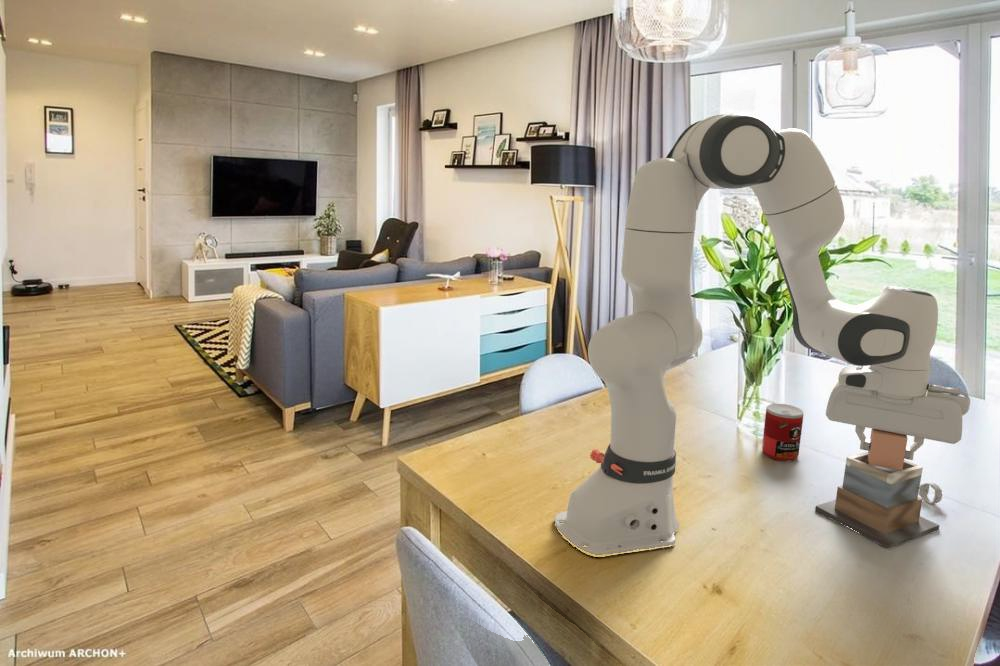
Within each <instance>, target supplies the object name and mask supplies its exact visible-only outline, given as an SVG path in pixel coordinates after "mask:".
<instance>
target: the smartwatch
mask: <svg viewBox="0 0 1000 666" xmlns="http://www.w3.org/2000/svg"><path fill="white" fill-rule="evenodd" d="M930 487H931V488H932V489H933V490H934V497H933V500H931V499H929V497H928V495H929V491H930V490H929V489H930ZM918 496H920V498H921V499H923V500H922V501H924V502H925V503H927V504H928V503H929V505H935V504H937V503H940V502H941V501H942V498H943V490H942V489H941V487H940V485H938V484H936V483H935V482H925V483H923V484H920V487H919V493H918Z"/></svg>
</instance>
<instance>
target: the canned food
mask: <svg viewBox="0 0 1000 666" xmlns="http://www.w3.org/2000/svg"><path fill="white" fill-rule="evenodd" d="M764 417H765V418H764V427H763V434H762V435H763V437H762V446H761V448H762V453H763V454H764V455H765V456H766V457H768V458H770V459H771V460H772V459H773V460H775V461H776V460H777V461H781V462H793V461H796V460H797V459H798V457H799V455H800V445H801V440H802V439H801V437H802V430H803V429H802V428H803V422H804V410H802V409H801V408H799V407H797V406H793V405H790V404H785V403H771V404H768V405H767V406H766V409H765V416H764Z"/></svg>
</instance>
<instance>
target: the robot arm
mask: <svg viewBox="0 0 1000 666" xmlns="http://www.w3.org/2000/svg"><path fill="white" fill-rule="evenodd" d="M631 186H632V187H631V191H630V195H629V199H628V205H627V211H626V216H625V224H624V226H625V228H624V234H623V235H624V236H623V248H622V258H621V276H622V278H623V279H624V281H625V282H626V284H628V285H629V288H630V291H631V294H632V302H633V311H632V314H630V315H626V316H621V317H618V318H615V319H613V320H611V321H609V322H608V323H606V324H605V325H603V326H602V327H601V328H599V329H597V330H596V331H595V332H594V333H593V335H592V336H591V337H590V340H589V343H588V347H587V355H588V356H587V357H588V361H589V364H590V367H591V369H592V370H593V372H594V373H595V375H596V376H597V377H598V378H600V380H602V381H603V382H604V384H605V387H606V390H607V395H608V397H609V403H610V442H609V444H608V446H607V448H606V451H605V453H603V452H601V451H600V450H599V449H596V448H594V449H593V450H591V452H590V455H589V458H590V459H591V460H592V461H594V462H595V463H597V464H600V467H599V468H598V469H596V470H595V471H594V472H593V473H592V474H591V475H590V476H589V477H588V478H587V479H585V480H584V481H583V482H582V483H581V484H580V485H579V486H578V487H576V488H574V490H573V491H572V492H571V493H570V496H569V499H568V504H567V510H564V511H561V512H559V513H557V514H555V517H554V521H555V524H556V527H557V528H558V530H559V531H560V532H561V533H562V534H563V535H564V536H565V537H566V538H567V539H568V540H569V541H570V542H572V543H573V544H574V545H576V546H577V547H578V548H580V549H582V550H584V551H586V552H589V553H591V554H595V555H603V554H605V555H606V554H613V553H621V552H627V551H633V550H637V549H639V550H640V549H649V548H655V547H662V546H669V545H674V544H675V545H676V536H675V535H674V534H676V533H677V532H676V530H677V528H678V529H679V522H678V518H677V515H676V509H675V501H674V485H673V484H674V482H673V481H674V480H673V478H674V475H675V473H676V467H677V466H676V462H677V461H676V458H677V453H676V450H675V440H676V437H675V436H676V425H677V411H676V408H675V407H674V405H673V403H672V402H671V401H670V400H668V396H667V392H666V388H665V387H666V385H665V376H666V373H667V372H668V371H670V370H672V369H675V368H677V367H679V366H681V365H684V364H685V363H687V361H688V360H690V359H691V358H692V357H693V356H694V355H695V354H696V353H697V352H698V351H699V349H700V347H701V345H702V343H703V342H702V341H703V328H702V326H701V323H700V321H699V319H698V318H697V317H696V316H695V313H694V307H693V299H692V290H691V269H692V261H693V252H694V242H695V234H696V223H697V211H698V210H699V205H700V203H701V201H702V198H703V197H704V195H705V194H706V193H707V192H708V191H709V190H710V189H714V190H715V189H716V190H725V189H730V190H731V189H732V190H733V189H735V190H736V189H737V190H738V189H743V188H748V187H749V188H750V189H751V190H752V192H753V194H754V195H755V196H756V198H757V200H758V203H759V206H760V208H761V210H762V213H763V215H764V218H765V219H766V223H767V226H768V227H769V230H770V233H771V235H772V238H773V241H774V242H773V243H774V249H775V252H776V257H777V260H778V264H779V266H780V269H781V273H782V275H783V278H784V279H783V280H784V282H785V286H786V287H787V288H786V289H787V291H788V293H789V297H790V301H791V304H792V305H791V306H792V329H793V330H792V331H793V334H794V336H795V339H796V340H797V341H798V342H799V344H800V345H801V346H802V347H805V348H806V349H808V350H811V351H815V352H818V353H821V354H824V355H827V356H828V357H831V358H834V359H837V360H840V361H842V362H843V363H847V364H848V366H845V367H844V368H842V369H841V370H840V371H839V374H838V381H837V383H836V384H835V386H834V387H833V388H832V391H831V392H830V395H829V398H828V401H827V404H826V409H825V416H826V417H827V419H828V420H829V421H832V422H837V423H842V424H845V425H846V424H847V425H852V426H855V429H854V431H855V433H856V435H857V437H858V439H859V441H860V445H859V450H862V451H866V452H868V451H869V450H870V443H871V439H870V438H867V437H866V435H865V433H864V432H865V430H866V428H867V429H871V430H872V429H877V430H883V431H888V432H893V433H898V434H904V435H907V436H910V437H914V438H913V442H914V443H912V445H911V446H906V451H905V457H904V460H909V461H913V460H914V456H915V455H914V453H915V452H916V451H918V450H919V449H920V448H921V447H922V446H923V445H924V441H925V439H926V440H930V441H936V442H940V443H947V444H951V445H952V444H953V445H955V444H957V443H959V442H960V441H961V440H962V436H963V416H965V415H966V414H967V413H969V410H970V405H971V398H970V396H969V395H968V394H967V393H965V392H963V391H961V389H960V388H955V387H946V386H941V385H936V384H929V379H930V374H931V373H930V372H931V368H932V367H931V366H932V364H931V351H932V349H933V347H934V346H935V343H936V337H937V330H938V322H939V320H938V319H939V307H938V301H937V299H936V297H935V296H934V295H933V294H932V293H930V292H928V291H927V292H926V291H922V290H918V289H912V288H909V287H902V286H897V285H890V286H887V287H885V288H884V289H883V291H882V292H881V293H879V294H878V295H876V296H875V297H874V298H872V299H869V300H868V301H865V302H863V303H860V304H856V305H853V304H851V303H846V302H844V301H842V300H840V299H839V298H837V297H836V296H834V295H833V294H832V293H831V292H830V290H829V287H828V283H827V281H826V278H825V275H824V271H823V268H822V265H821V262H820V257H819V251H820V248H822V247H823V246H825V245H827V244H828V243H830V242H831V241H833V239H834V238H835V237H836V236H837V235H838V234H839V232H840V231H841V229H842V227H843V224H844V221H845V209H844V208H845V207H844V203H843V202H844V201H843V199H842V196H841V193H840V191H839V188H838V186H837V183H836V181H835V178H834V176H833V173H832V171H831V169H830V167H829V166H828V163H827V161H826V159H825V158H824V156H823V154H822V152H821V151H820V149H819V147H818V146H817V144H816V143H815V141H814V140H813V139H812V138H811V136H810V135H809V134H808V133H807V132H806V131H804V130H802V129H798V128H787V129H786V128H785V129H781V130H778V131H776V130H775V129H773V128H772V127H771V126H769V125H768V124H767V123H766V122H765V121H763V120H762V119H760V118H759V117H756V116H755V115H751V114H748V113H741V112H737V113H731V114H717V115H713V116H709V117H707V118H704V119H702V120H698V121H696V122H694V123H692V124H691V125H689V126H687V128H686V129H684V131H683V132H682V133H681V134H680V136H679V137H678V139H677V140H676V142H675V143H674V145H673V147H672V148H671V150H669V152H668V153H667V155H666V157H661V158H655V159H651V160H650V161H648V162H645V163H643V164H642V165H641V166H640V167H639V168H638V170H637V172H636V173H635V176H634V179H633V183H632V185H631ZM559 523H563V524H559ZM555 524H554V525H555ZM677 531H678V530H677ZM675 532H676V533H675ZM661 541H663V542H661ZM584 545H586V546H588V547H583V546H584Z"/></svg>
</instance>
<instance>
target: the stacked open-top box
mask: <svg viewBox="0 0 1000 666" xmlns="http://www.w3.org/2000/svg"><path fill="white" fill-rule="evenodd" d="M845 460H846V461H845V468H844V474H843V482H842V485H839V486H837V487H836V488H837V489H836V490H837V491H836V496H835V497H836V498H835V499H834V500H831V501H828V502H827V501H826V502H823V503H820V504H817V505H815V508H814V510H816V511H815V512H817V513H819V514H821V515H823V516H824V515H825V517H826V516H827V518H828V517H829V518H828V519H830V518H831V519H830V520H832V519H833V520H832V521H834V520H835V521H834V522H836V521H837V522H836V523H838V522H839V523H838V524H840V523H842V524H843V525H845V526H848V527H849V528H852V529H853V530H855V531H857V532H859V533H860V534H859V533H858V534H859V535H861V534H862V535H863V537H864V536H865V537H864V538H866V537H867V538H866V539H868V538H869V540H870V539H871V540H870V541H872V540H873V541H872V542H874V541H875V542H874V543H876V542H877V543H876V544H878V543H879V544H878V545H880V544H881V545H883V546H884V548H885V547H886V548H885V549H887V548H888V550H890V549H893V548H894V547H897V545H898V546H900V545H903V544H906V543H908V542H910V540H911V541H913V540H916V539H918V538H922V537H924V535H925V536H927V535H930V534H932V532H933V533H935V532H937V530H938V531H939V530H940V524H938V523H936V522H934V521H932V520H929V519H927V518H925V517H923V516H921V510H922V504H923V501H924V500H923V499H922V498H921V497H919V487H920V485H921V480H922V474H923V469H924V467H923V466H920V465H918V464H917V463H916V464H915V463H913V462H910V461H908V460H906V459H904V463H903V470H902V471H901V470H895V469H890V468H885V467H879V466H874V465H869V460H868V451H864V452H861V453H859V454H854V455H850V456H846V458H845ZM842 524H841V525H842ZM843 525H842V526H843ZM845 526H844V527H845ZM849 528H848V529H849ZM853 530H852V531H853ZM855 531H854V532H855ZM934 531H935V532H934ZM857 532H856V533H857ZM929 533H930V534H929ZM926 534H927V535H926ZM862 535H861V536H862ZM921 536H922V537H921ZM907 541H908V542H907ZM905 542H906V543H905ZM902 543H903V544H902ZM881 545H880V546H881ZM883 546H882V547H883ZM889 548H890V549H889Z"/></svg>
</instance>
